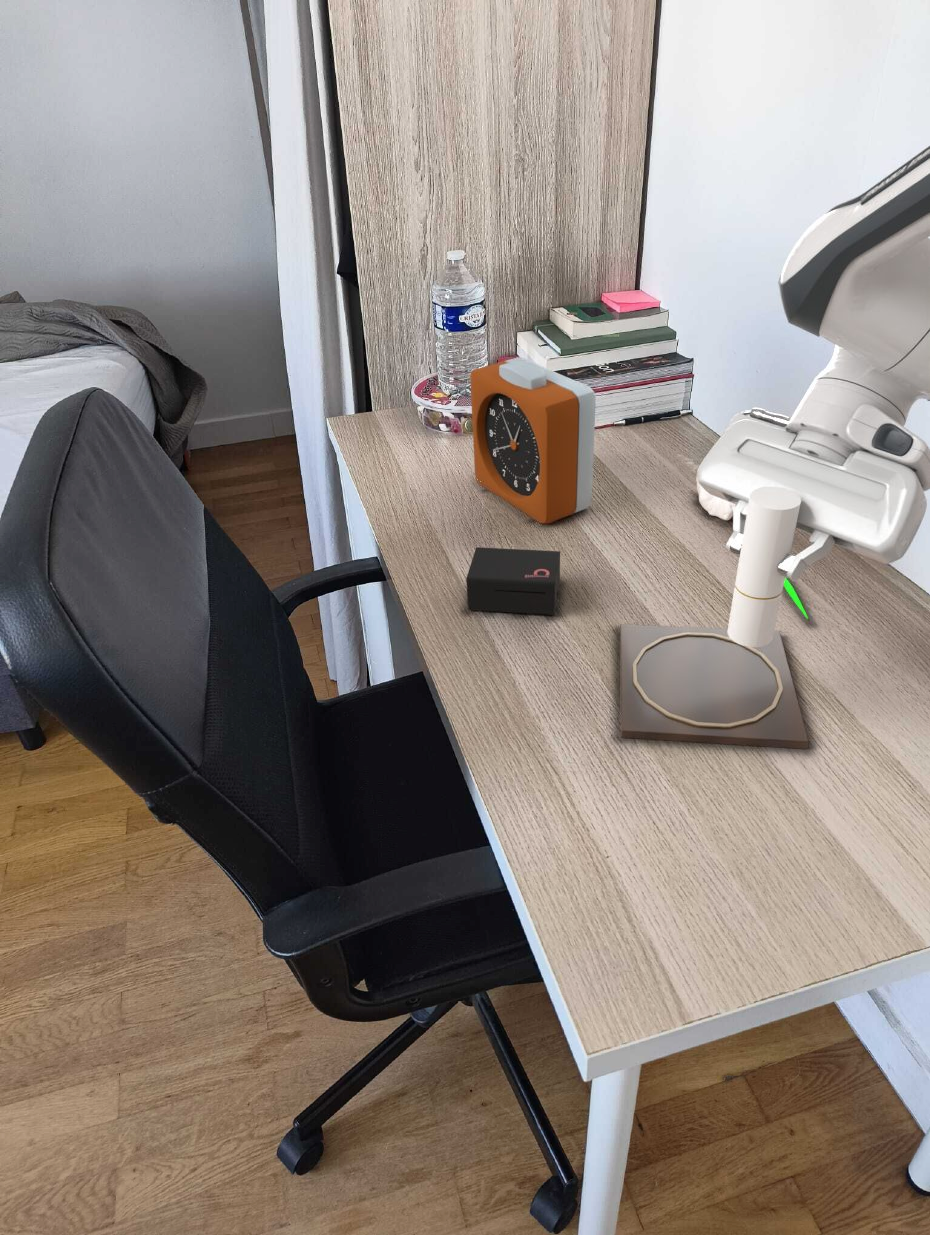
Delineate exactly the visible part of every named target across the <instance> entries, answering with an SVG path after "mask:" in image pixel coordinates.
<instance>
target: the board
mask: <svg viewBox="0 0 930 1235" xmlns="http://www.w3.org/2000/svg"><path fill="white" fill-rule="evenodd" d="M727 630H728V628H719V627H718V628H715V627H693V626H672V625H671V626H670V625H669V626H668V625H667V626H666V625H644V624H623V623H622V624H621V623H620V625H619V682H620V683H619V684H620V685H619V689H620V690H619V692H620V693H619V694H620V695H619V696H620V698H619V699H620V738H621V739H622V738H623V739H636V740H637V739H638V740H653V741H669V742H671V741H672V742H686V743H687V742H688V743H703V744H704V743H705V744H720V745H721V744H722V745H735V746H736V745H737V746H750V747H751V746H753V747H769V748H771V747H772V748H785V749H786V748H787V749H802V750H803V749H805V750H807V749H808V746H809V742H810V741H809V737H808V734H807V730H806V727H805V722H804V719H803V715H802V711H801V708H800V704H799V699H798V696H797V692H796V688H795V685H794V681H793V680H794V679H793V677H792V672H791V669H790V665H789V662H788V658H787V655H786V650H785V646H784V643H783V638H782V635H781V631H780V630H774V634H773V639H772V641H771V642H770V643H769V644H767V645H765V646H762V647H746V646H743V645H740V644H738V643H736V642H734V641H733V640H732V639H731V638H730V637H729V636H728V633H727Z"/></svg>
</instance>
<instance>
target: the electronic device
mask: <svg viewBox="0 0 930 1235" xmlns="http://www.w3.org/2000/svg"><path fill="white" fill-rule="evenodd" d="M560 582H561V551H559V550H557V551H556V550H539V549H521V548H520V549H519V548H502V547H501V548H500V547H499V548H498V547H481V546H480V547H479V546H476V547H475V550H474V552H473V556H472V559H471V562H470V566H469V569H468V572H467V575H466V594H467V595H466V597H467V598H466V599H467V610H469V611H483V612H499V613H514V614H515V613H516V614H532V615H549V616H554V615H555V614H556V609H557V601H558V600H557V599H558V598H557V597H558V595H559V589H560Z"/></svg>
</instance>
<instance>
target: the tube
mask: <svg viewBox="0 0 930 1235" xmlns="http://www.w3.org/2000/svg"><path fill="white" fill-rule="evenodd" d="M800 504H801V498H800V496H799V495H798V494H796V493H795V492H793V491H791V490H788V489H785V488H780V487H761V488H758V489H755V490H753V491H752V492H751V493H750V497H749V503H748V509H747V515H746V521H745V527H744V533H743V539H742V545H741V551H740V557H739V556H738V557H739V558H738V564H737V570H736V575H735V576H736V577H735V583H734V588H733V595H732V600H731V607H730V613H729V617H728V618H729V620H728V625H727V629H728V630H727V633H728V636H729V637H730V638H731V639H732V640H733V641H734V642H736V643H738V644H740V645H743V646H746V647H762V646H765V645H767V644H769V643H770V642H771V641H772V639H773V634H774V631H776V630H775V629H776V625H777V619H778V614H779V610H780V606H781V605H780V604H781V600H782V595H783V590H784V581H785V577H784V576H782V575H780V573H779V572H778V571H777V570H778V567H779V565H780V564H781V563H783V559H784V557H785V556H786V555H787V554H790V555H791V552H792V546H793V542H794V539H795V538H794V537H795V533H796V523H797V518H798V513H799V509H800Z"/></svg>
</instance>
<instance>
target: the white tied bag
mask: <svg viewBox="0 0 930 1235" xmlns="http://www.w3.org/2000/svg"><path fill="white" fill-rule="evenodd" d="M695 479H696V480H695V481H696V491H697V493H698V502H699V504H700V505H701V507H702V508H703V510H705V511H706V512H708V514H709V515H710V516H714V517H717V518H719V519H721V520H723V521H729V520H731V519H732V518H733V510H734V508H735V507H736V504H733V503H731V502H728V501H726V500H723V499H721V498H718V497H716V496H713V495H711V494H709V493H708V492H707V491H706V490H705V489H704V488H703V487H702V486H701V485H700V484H699V482H698V478H697V477H696V478H695Z"/></svg>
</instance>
